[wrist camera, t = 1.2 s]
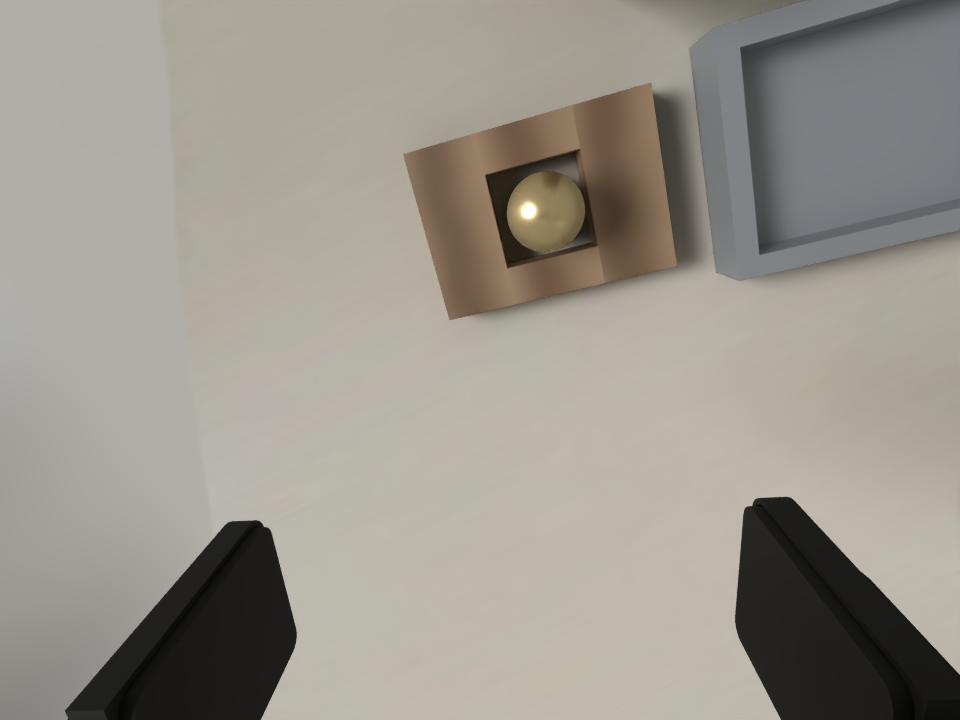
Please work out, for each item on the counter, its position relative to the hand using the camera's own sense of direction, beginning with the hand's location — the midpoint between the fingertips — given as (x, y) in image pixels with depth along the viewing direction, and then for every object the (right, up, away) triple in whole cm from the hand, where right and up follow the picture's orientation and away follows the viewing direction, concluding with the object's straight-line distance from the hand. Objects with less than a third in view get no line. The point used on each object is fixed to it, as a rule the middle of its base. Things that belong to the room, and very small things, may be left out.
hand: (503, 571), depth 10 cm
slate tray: (+21, +18, +19) cm, 33 cm away
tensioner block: (+3, +14, +22) cm, 26 cm away
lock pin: (+3, +14, +22) cm, 26 cm away
